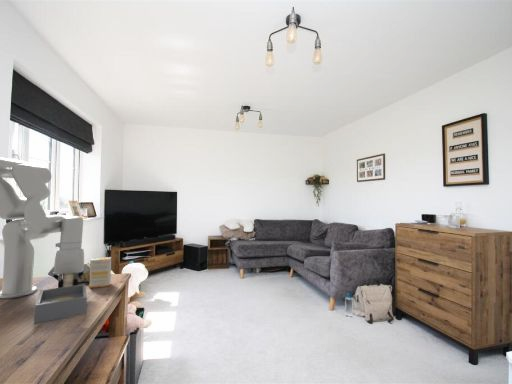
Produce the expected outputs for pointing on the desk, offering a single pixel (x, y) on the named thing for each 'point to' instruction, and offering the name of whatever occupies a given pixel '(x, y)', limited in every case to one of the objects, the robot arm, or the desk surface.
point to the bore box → (60, 303)
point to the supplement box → (100, 272)
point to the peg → (68, 280)
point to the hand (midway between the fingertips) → (67, 288)
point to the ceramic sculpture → (85, 275)
